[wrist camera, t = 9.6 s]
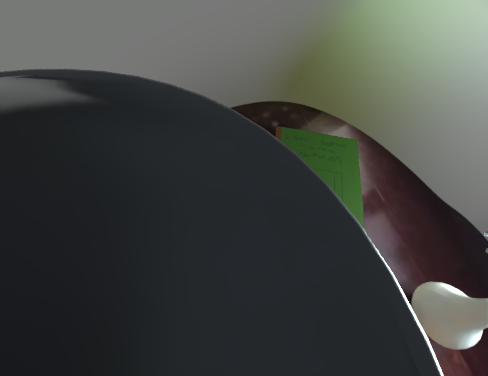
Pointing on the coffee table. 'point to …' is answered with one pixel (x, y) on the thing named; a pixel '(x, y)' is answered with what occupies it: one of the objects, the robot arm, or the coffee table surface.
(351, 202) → the book
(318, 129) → the coffee table surface
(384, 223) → the coffee table surface
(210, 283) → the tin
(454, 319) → the flower vase
